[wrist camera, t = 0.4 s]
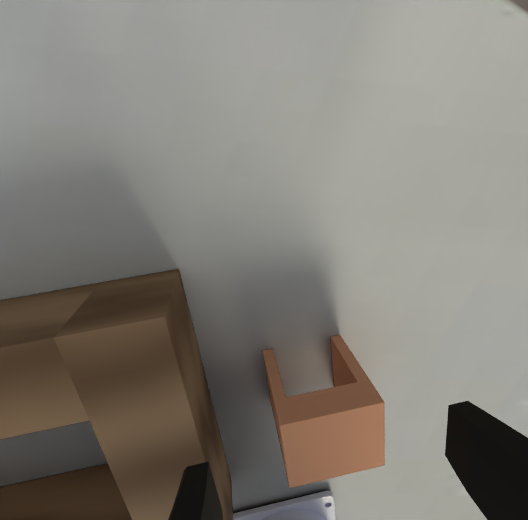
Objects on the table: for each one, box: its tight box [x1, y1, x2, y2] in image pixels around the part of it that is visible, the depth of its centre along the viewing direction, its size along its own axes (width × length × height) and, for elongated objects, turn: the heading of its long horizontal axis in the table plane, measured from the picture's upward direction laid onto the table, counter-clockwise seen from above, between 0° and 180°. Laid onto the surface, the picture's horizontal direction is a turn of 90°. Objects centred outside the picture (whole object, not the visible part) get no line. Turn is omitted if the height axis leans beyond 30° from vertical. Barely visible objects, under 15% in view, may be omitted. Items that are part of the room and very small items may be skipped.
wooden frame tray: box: [0, 269, 233, 520], centre depth 16 cm, size 16×20×6 cm
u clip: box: [263, 335, 385, 488], centre depth 17 cm, size 4×5×6 cm
